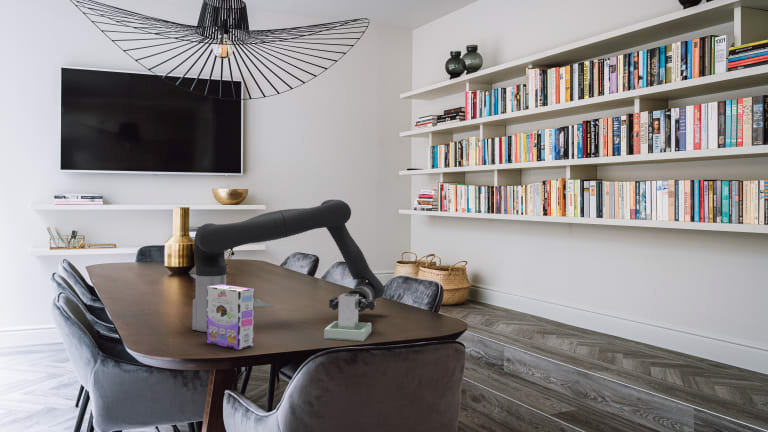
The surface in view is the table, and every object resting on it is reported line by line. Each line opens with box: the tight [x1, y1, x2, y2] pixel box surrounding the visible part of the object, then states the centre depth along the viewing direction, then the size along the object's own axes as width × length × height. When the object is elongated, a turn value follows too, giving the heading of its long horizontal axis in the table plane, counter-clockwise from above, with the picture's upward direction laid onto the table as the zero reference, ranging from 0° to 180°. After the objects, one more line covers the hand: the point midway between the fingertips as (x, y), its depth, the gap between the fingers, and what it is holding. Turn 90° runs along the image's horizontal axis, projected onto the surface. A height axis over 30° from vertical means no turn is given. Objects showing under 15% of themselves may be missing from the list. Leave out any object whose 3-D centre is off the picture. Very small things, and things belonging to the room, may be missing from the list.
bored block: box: [337, 293, 359, 330], centre depth 176 cm, size 5×5×12 cm
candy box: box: [206, 284, 255, 351], centre depth 162 cm, size 14×6×16 cm, turn 56°
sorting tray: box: [323, 320, 372, 343], centre depth 176 cm, size 12×12×3 cm
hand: (347, 307), depth 174 cm, fingers open, 8 cm apart
